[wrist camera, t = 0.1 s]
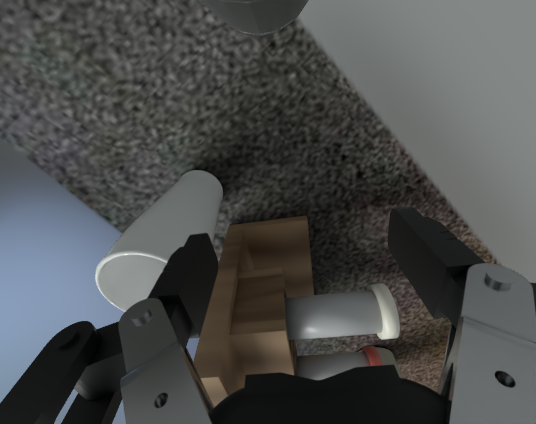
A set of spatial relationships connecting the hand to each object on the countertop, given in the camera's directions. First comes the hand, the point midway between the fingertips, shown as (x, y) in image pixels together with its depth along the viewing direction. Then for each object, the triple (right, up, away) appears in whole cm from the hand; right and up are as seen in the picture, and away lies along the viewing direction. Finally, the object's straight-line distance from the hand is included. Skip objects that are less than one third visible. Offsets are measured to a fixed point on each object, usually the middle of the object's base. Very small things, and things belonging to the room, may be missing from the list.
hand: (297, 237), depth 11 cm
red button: (+7, -17, +20) cm, 27 cm away
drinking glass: (-9, +4, +18) cm, 21 cm away
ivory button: (+5, -7, +15) cm, 17 cm away
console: (0, -8, +25) cm, 27 cm away
